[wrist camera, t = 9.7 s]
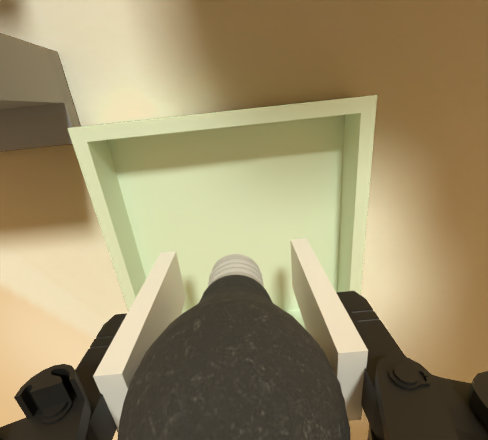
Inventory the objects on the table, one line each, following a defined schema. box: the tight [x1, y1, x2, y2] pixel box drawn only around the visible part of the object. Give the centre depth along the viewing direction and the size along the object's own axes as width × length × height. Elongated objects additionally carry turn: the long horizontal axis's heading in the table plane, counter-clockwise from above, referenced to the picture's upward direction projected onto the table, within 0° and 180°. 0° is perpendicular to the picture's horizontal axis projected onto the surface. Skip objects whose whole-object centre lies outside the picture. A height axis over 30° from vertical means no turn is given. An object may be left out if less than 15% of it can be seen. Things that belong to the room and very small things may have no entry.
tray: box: [67, 95, 377, 329], centre depth 16 cm, size 14×14×3 cm
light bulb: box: [118, 254, 350, 440], centre depth 9 cm, size 6×6×10 cm
